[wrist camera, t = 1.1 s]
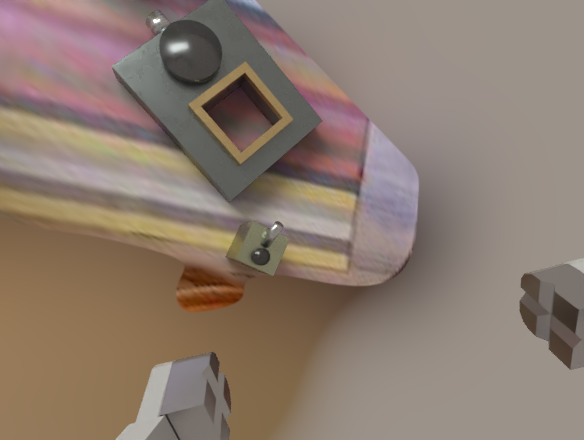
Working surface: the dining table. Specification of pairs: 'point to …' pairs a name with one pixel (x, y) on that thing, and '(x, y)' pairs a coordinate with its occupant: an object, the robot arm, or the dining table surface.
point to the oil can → (259, 246)
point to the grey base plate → (214, 92)
